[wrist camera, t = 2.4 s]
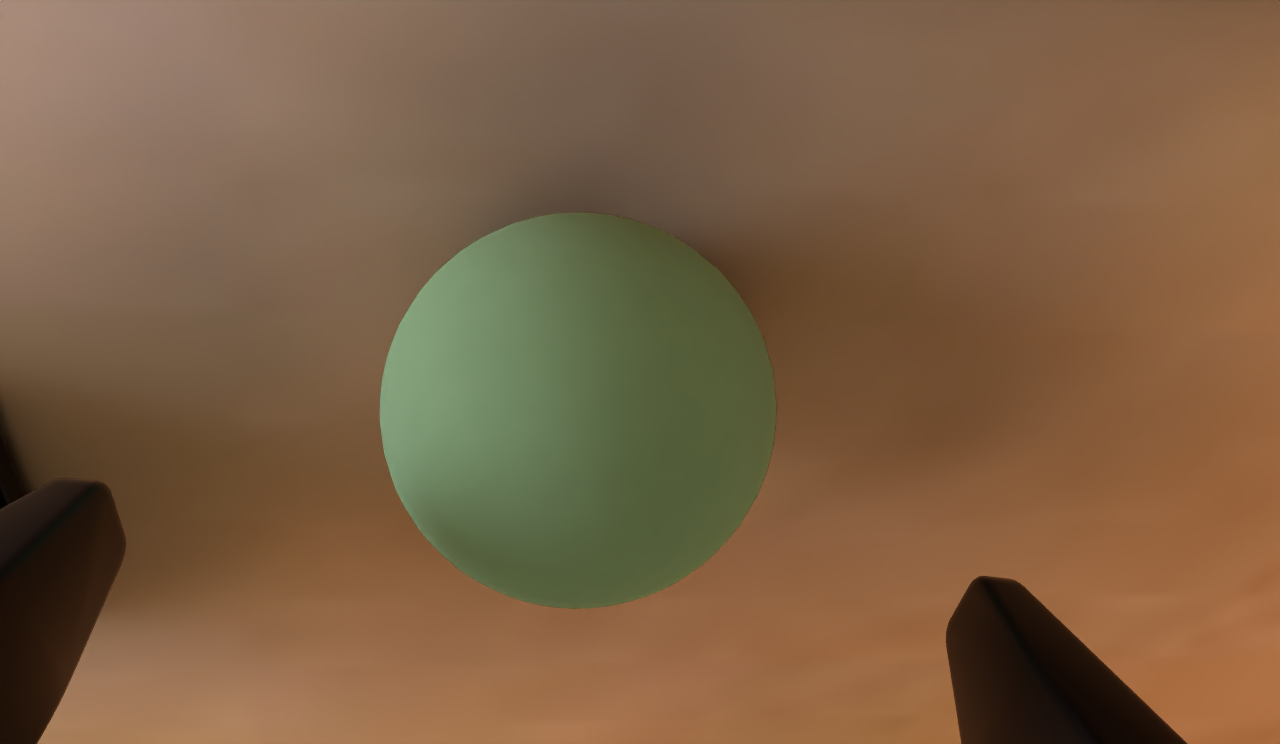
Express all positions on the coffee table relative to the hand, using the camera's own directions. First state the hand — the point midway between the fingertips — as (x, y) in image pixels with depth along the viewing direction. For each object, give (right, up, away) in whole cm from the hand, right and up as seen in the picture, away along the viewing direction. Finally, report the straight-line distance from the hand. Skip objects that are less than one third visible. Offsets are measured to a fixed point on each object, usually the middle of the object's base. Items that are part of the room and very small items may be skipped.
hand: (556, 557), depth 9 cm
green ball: (0, +1, +2) cm, 3 cm away
